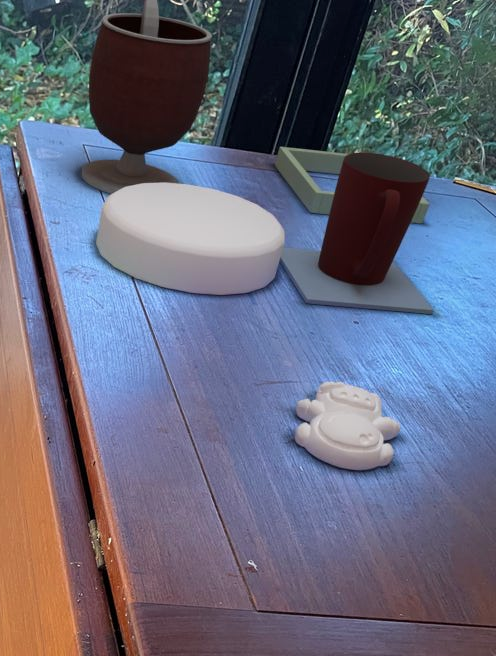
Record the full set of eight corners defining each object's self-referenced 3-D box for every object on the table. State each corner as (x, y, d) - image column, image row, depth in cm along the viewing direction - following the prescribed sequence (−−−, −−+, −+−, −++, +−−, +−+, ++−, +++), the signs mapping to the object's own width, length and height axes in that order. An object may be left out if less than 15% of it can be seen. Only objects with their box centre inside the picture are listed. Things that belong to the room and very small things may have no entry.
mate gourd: (193, 206, 122) (235, 17, 109) (81, 195, 120) (111, 3, 107) (170, 164, 133) (205, -11, 120) (68, 154, 132) (92, -25, 118)
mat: (388, 261, 115) (390, 257, 115) (432, 314, 105) (434, 310, 105) (272, 250, 114) (273, 246, 113) (305, 303, 104) (307, 298, 103)
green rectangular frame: (376, 176, 140) (383, 157, 138) (422, 223, 127) (430, 203, 125) (274, 165, 138) (279, 146, 136) (310, 212, 125) (316, 192, 123)
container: (195, 214, 120) (204, 173, 117) (313, 280, 108) (327, 237, 105) (60, 231, 111) (66, 188, 108) (173, 306, 99) (184, 260, 96)
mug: (401, 306, 105) (443, 198, 97) (318, 292, 105) (353, 183, 97) (384, 262, 114) (421, 160, 106) (307, 250, 114) (339, 147, 106)
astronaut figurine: (402, 417, 87) (415, 386, 85) (384, 482, 79) (398, 449, 77) (304, 388, 89) (315, 357, 87) (277, 449, 81) (288, 416, 79)
